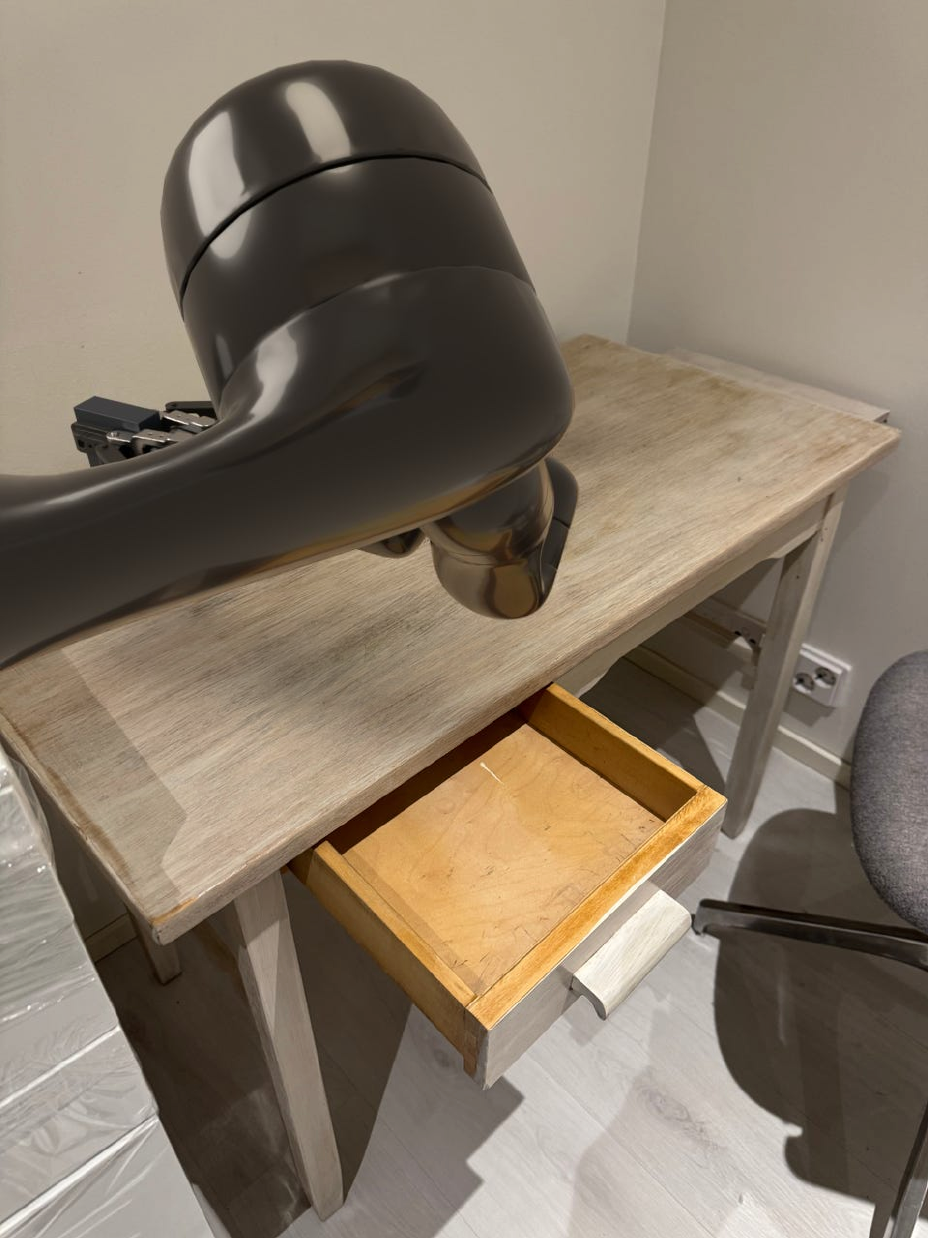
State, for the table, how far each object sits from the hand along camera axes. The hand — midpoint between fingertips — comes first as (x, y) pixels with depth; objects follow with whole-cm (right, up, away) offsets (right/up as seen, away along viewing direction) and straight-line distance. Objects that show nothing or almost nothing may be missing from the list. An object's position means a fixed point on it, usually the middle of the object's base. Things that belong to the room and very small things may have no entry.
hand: (90, 426), depth 66 cm
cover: (+3, -7, +4) cm, 9 cm away
